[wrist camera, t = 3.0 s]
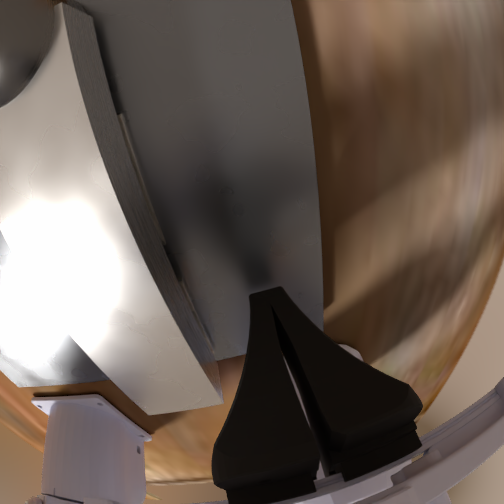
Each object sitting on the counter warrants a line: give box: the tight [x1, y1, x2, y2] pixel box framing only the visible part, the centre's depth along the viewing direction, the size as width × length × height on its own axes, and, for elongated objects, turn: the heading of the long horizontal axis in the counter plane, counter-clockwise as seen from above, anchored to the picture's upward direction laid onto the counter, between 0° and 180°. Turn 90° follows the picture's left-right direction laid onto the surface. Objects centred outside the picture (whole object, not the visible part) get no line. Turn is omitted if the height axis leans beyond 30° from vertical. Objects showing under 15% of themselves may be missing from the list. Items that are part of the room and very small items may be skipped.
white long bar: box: [0, 0, 224, 415], centre depth 8 cm, size 18×4×3 cm, turn 10°
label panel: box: [0, 0, 323, 387], centre depth 10 cm, size 18×22×2 cm
